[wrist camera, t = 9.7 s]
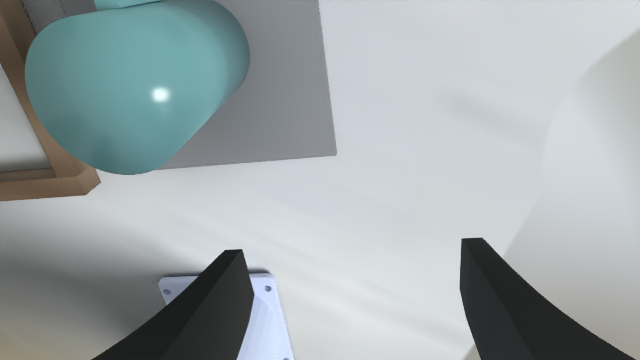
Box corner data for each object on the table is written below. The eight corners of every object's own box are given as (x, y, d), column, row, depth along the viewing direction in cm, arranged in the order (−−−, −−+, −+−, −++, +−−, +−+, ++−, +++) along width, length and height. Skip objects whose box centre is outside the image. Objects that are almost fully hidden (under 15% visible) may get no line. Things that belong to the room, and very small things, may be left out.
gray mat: (336, 152, 22) (336, 155, 21) (131, 169, 23) (128, 172, 23) (303, -121, 16) (302, -122, 16) (37, -72, 18) (31, -73, 17)
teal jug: (258, 97, 20) (204, 169, 13) (165, 106, 21) (66, 179, 14) (229, -56, 17) (135, -69, 10) (120, -40, 18) (-38, -41, 11)
